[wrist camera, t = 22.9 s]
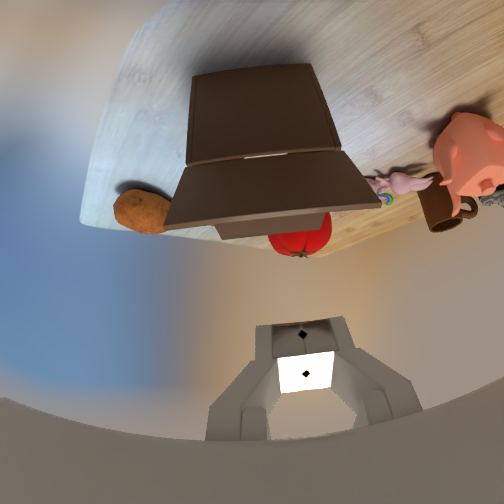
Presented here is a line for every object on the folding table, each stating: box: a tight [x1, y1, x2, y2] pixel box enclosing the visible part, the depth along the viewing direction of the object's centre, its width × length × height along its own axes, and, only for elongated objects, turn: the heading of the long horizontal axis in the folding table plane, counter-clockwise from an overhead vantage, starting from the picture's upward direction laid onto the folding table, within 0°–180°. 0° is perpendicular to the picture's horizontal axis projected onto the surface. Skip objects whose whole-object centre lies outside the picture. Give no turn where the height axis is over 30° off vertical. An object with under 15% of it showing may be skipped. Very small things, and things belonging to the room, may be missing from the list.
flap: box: [163, 151, 382, 231], centre depth 17 cm, size 7×12×1 cm
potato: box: [113, 189, 171, 234], centre depth 45 cm, size 7×13×7 cm, turn 24°
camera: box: [478, 184, 504, 208], centre depth 37 cm, size 15×7×10 cm, turn 117°
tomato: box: [268, 212, 332, 258], centre depth 51 cm, size 12×12×11 cm
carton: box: [186, 64, 342, 240], centre depth 29 cm, size 15×12×12 cm
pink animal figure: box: [365, 172, 433, 205], centre depth 44 cm, size 6×6×15 cm
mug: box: [417, 173, 478, 232], centre depth 44 cm, size 12×8×9 cm, turn 116°
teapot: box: [433, 112, 504, 217], centre depth 30 cm, size 14×14×11 cm
